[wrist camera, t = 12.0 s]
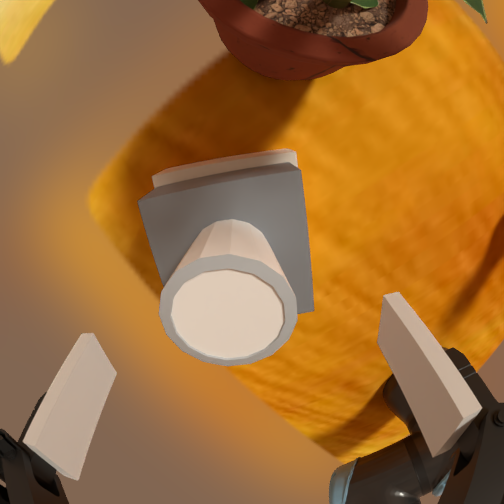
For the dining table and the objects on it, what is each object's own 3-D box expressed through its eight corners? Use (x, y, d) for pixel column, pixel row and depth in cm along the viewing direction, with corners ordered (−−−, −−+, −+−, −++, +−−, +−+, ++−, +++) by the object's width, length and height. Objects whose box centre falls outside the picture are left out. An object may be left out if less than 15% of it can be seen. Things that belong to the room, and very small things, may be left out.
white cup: (184, 296, 21) (165, 363, 15) (181, 207, 18) (151, 251, 12) (274, 300, 21) (287, 368, 15) (285, 212, 19) (309, 258, 12)
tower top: (302, 280, 26) (314, 311, 22) (189, 297, 27) (180, 330, 22) (288, 161, 22) (300, 169, 17) (157, 186, 22) (137, 201, 18)
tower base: (298, 258, 31) (307, 281, 27) (191, 274, 32) (184, 298, 27) (286, 148, 26) (296, 151, 22) (166, 168, 27) (151, 176, 22)
